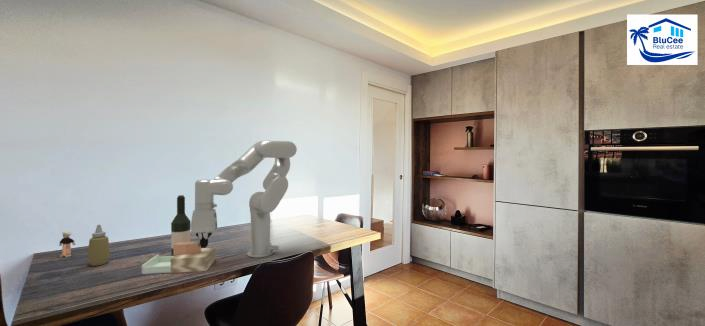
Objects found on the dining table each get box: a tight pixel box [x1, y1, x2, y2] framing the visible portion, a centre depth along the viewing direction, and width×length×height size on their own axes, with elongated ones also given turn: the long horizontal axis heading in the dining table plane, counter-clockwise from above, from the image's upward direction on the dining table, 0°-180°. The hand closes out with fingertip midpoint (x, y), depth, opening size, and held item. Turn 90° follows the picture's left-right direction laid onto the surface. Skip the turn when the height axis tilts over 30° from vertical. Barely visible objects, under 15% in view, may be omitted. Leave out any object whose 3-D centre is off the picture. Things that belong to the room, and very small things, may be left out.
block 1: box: [173, 242, 188, 255], centre depth 130 cm, size 5×4×4 cm
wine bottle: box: [170, 194, 192, 256], centre depth 146 cm, size 8×8×30 cm
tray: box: [141, 254, 174, 276], centre depth 128 cm, size 11×14×4 cm
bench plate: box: [170, 246, 217, 274], centre depth 131 cm, size 14×14×6 cm
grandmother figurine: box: [58, 230, 76, 258], centre depth 144 cm, size 8×4×13 cm, turn 102°
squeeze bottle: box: [86, 224, 111, 267], centre depth 133 cm, size 8×8×18 cm
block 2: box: [186, 240, 201, 254], centre depth 131 cm, size 5×4×4 cm
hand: (204, 247), depth 131 cm, fingers closed
